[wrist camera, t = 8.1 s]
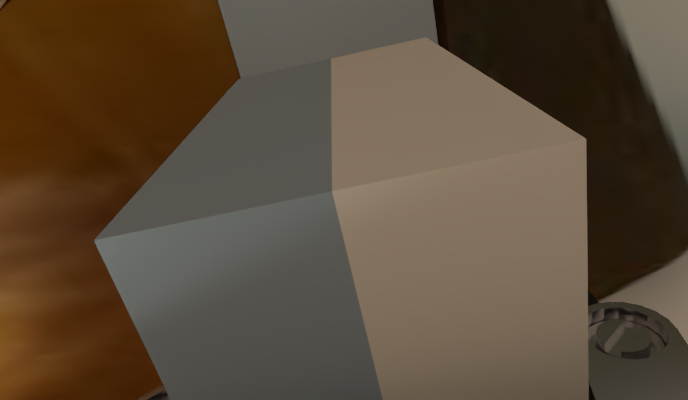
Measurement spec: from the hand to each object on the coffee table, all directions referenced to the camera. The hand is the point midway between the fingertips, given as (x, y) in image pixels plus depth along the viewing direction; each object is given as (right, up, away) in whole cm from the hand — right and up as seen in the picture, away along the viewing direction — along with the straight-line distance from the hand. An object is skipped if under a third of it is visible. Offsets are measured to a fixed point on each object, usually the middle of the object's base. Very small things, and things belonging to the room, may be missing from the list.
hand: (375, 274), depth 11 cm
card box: (0, +1, +1) cm, 1 cm away
